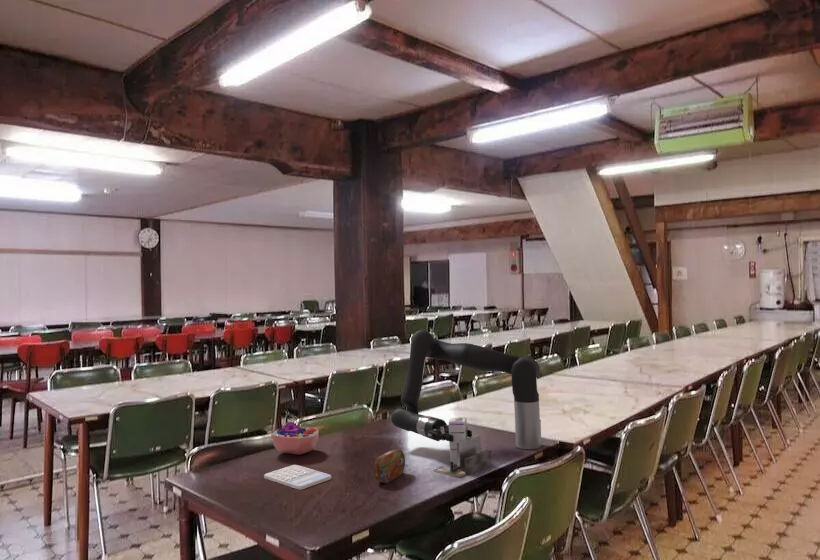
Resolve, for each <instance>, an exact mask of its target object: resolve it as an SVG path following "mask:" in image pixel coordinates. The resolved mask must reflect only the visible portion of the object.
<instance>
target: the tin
mask: <svg viewBox="0 0 820 560" xmlns="http://www.w3.org/2000/svg"><path fill="white" fill-rule="evenodd" d="M405 466H406V458H405V454H404V452H403V451H402V450H401V449H391V450H389V451H387V452H385V453H383V454H382V455H379V456H378V457H377V458H376V459H375V461H374V466H373V469H374V471H373V472H374V478H375V480H376V481H377V482H378V483H383V484H388V483H390V482H391V481H393V480H395V479H397V478H398V477H400V476H401V475H402V473H403V472H404V471H405Z"/></svg>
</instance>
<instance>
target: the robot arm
mask: <svg viewBox="0 0 820 560" xmlns="http://www.w3.org/2000/svg"><path fill="white" fill-rule="evenodd" d="M426 358H427V359H436V360H442V361H443V360H444V361H446V362H449V363H452V364H456V365H459V366H462V367H465V368H469V369H473V370H478V371H487V372H501V373H504V374H505V373H506V374H509V375H511V389H512V395H513V402H514V403H513V405H514V406H513V407H514V408H513V409H514V424H515V425H514V429H515V430H514V432H515V433H514V434H515V447H517V448H518V449H521V450H536V449H540V448H541V446H542V421H541V418H540V417H541V415H540V394H539V392H538V385H537V382H538V381H537V377H538V376H539V374H540V371H541V370H540V369H541V368H540V365H539V363H538V361H536V360H535V359H534V358H533V357H529V356H523V355H517V354H516V355H515V354H509V353H505V352H500V351H499V350H494V349H492V348H488V347H485V346H480V345H477V344H473V343H466V342H465V343H464V342H462V343H450V342H446V341H442V340H439V339H436V338H435V337H434V336H433V335H432V333H431V332H429V331H428V330H426V329H419V330H418V331H416V332H415V333H414V334H413V335H412V338H411V343H410V353H409V359H408V360H409V361H408V368H407V371H406V376H405V381H404V384H403V388H402V392H401V395H400V402H401V403H402V404H403V405H404V406H405V408H406V409H403V408H397V409H395V410H394V411H392V414H391V416H390V421H391V424H392V425H393V426H394V427H396V428H399V429H401V430H404V431H406V432H412V433H414V434H417V435H420V436H422V437H424V438H427V439H430V440H433V441H436V442H440V441H447V442H449V441H450V442H453V441H454V440H453V435H451V434H449V424H447V422H446V421H445V420H444V419H442V418H438V417H434V416H429V415H425V414H419V400H420V396H421V394H422V393H421V392H422V386H423V381H424V380H423V379H424V377H423V375H424V366H425V361H426ZM468 427H469V426H467V438H470V437H473V432H472V430H471V429H468Z"/></svg>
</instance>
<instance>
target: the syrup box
mask: <svg viewBox="0 0 820 560" xmlns="http://www.w3.org/2000/svg"><path fill="white" fill-rule="evenodd" d="M467 419H468V418H467V417H450V419H449V420H448V425H449V434H451V435H453V440H454V441H453V442H450V441H448V442H449V460H450V461H449V463H450V462H453V465H457V442H459V441H462V440H464V439H467V438H468V437H467V429H468V428H467V427H468V422H467Z"/></svg>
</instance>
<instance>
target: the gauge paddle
mask: <svg viewBox="0 0 820 560" xmlns="http://www.w3.org/2000/svg"><path fill="white" fill-rule="evenodd" d="M481 440H482V439H481V435H480V434H476V435H472V437H467V439H464V440H462V441H459V442H457V464H456V465H457V466H456V467H454V464H453V462H450V461H449V463H450V464H449V465H450V466H449V468H450V471H451V472H453V471H455V470H460V471H463V470H465V462H464V459H465V458H468V457H470V456H472V455H475V454H477V453H480V452H482V443H481V442H482V441H481Z"/></svg>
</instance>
